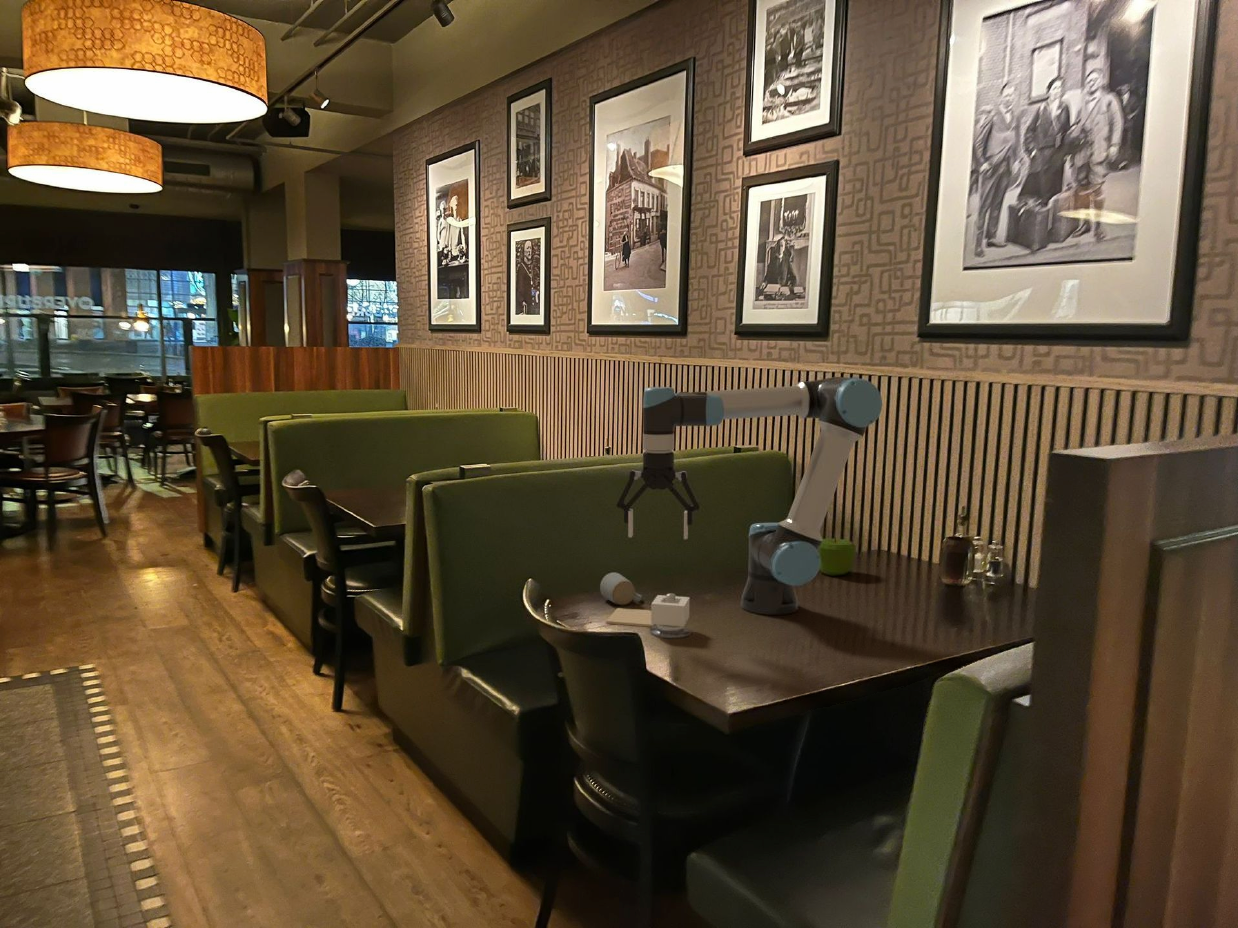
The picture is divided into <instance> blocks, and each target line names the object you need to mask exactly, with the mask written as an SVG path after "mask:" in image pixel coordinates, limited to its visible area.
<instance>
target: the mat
mask: <svg viewBox="0 0 1238 928" xmlns="http://www.w3.org/2000/svg"><path fill="white" fill-rule="evenodd" d="M605 622H606V623H605V624H610V625H622V626H624V625H625V626H632V627H633V626H635V627H648V628H651V627H653V626H655V624H651V610H649V609H637V608H635V609H634V608H624V607H623V608H621V607H617V608H616V609H615V610H614V611H613V612H612V614H611V615H610V616H609V617H608V618H607V620H606V621H605Z"/></svg>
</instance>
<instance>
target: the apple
mask: <svg viewBox="0 0 1238 928" xmlns="http://www.w3.org/2000/svg"><path fill="white" fill-rule="evenodd" d="M856 551H857V545H855V544H854V542H852V541H850V540H847V539H842V538H836V537H833V538H822V543H821V545H820V548H819V550H818V552H819V555H820V560H821V563H820V568H819V571H820V572H821V573H823V574H824V575H826V576H833V577H835V576H837V577H838V576H843V575H845V574H847V573H849V572H850V571H852V569H853V564H854V560H855V556H856Z"/></svg>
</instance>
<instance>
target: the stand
mask: <svg viewBox="0 0 1238 928" xmlns="http://www.w3.org/2000/svg"><path fill="white" fill-rule="evenodd" d="M665 596H666V603H675V596H676V593H672V592H671V593H669V592H668V593H666V595H665ZM649 628H650V629H649V633H650V635H651V636H654V637H656V638H661V639H667V640H671V639H672V640H674V639H683V638H687V637H690V635H691V634H692V630H691V628H690V627H688V626H686V625H685V626H671V625H659V624H654V626H653V627H649Z"/></svg>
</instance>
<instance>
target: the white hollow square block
mask: <svg viewBox="0 0 1238 928" xmlns="http://www.w3.org/2000/svg"><path fill="white" fill-rule="evenodd" d="M650 608H651V624H654V625H657V624H659V625H671V626H686V623H687V621H688V620H689V618H690V596H689V597H688V596H677V595H675V603H666V595H665V594H664V595H662V594H661V595H660V594H658V595H656V596H655V598H654V599H653V601H652V602H651V605H650Z"/></svg>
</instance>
